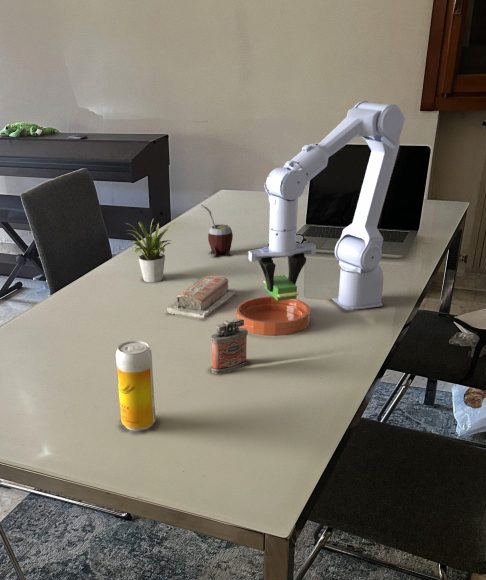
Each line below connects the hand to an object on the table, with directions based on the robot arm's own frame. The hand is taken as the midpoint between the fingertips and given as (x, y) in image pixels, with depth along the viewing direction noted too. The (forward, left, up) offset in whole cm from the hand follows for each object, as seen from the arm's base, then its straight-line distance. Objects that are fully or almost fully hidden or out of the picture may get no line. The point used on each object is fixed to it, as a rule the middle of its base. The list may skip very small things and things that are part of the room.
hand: (280, 288), depth 163 cm
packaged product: (+13, -18, -9) cm, 24 cm away
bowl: (+1, -1, -8) cm, 9 cm away
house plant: (+22, -41, -9) cm, 48 cm away
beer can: (+39, +35, -9) cm, 53 cm away
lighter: (+17, +18, -9) cm, 26 cm away
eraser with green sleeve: (0, 0, -1) cm, 1 cm away
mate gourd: (-2, -55, -9) cm, 56 cm away
